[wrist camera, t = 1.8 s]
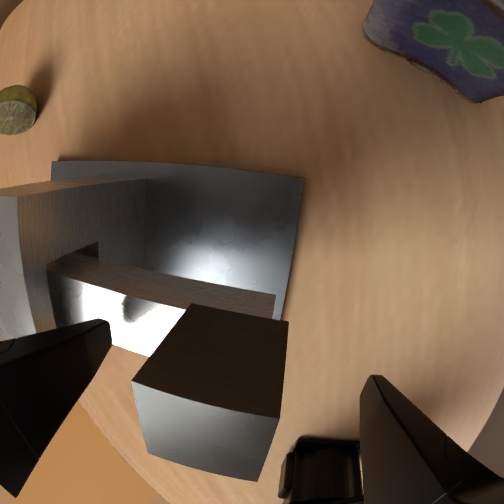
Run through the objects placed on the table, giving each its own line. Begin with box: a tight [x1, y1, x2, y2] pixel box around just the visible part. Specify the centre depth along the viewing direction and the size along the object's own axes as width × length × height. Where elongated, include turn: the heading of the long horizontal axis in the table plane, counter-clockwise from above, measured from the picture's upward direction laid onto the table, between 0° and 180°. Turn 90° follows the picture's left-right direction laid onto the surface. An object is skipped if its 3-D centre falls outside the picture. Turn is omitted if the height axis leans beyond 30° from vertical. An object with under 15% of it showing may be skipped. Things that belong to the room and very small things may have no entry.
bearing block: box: [0, 161, 305, 347], centre depth 13 cm, size 18×11×10 cm, turn 83°
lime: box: [0, 85, 37, 135], centre depth 14 cm, size 4×5×5 cm
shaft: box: [45, 252, 289, 482], centre depth 9 cm, size 18×3×6 cm, turn 83°
